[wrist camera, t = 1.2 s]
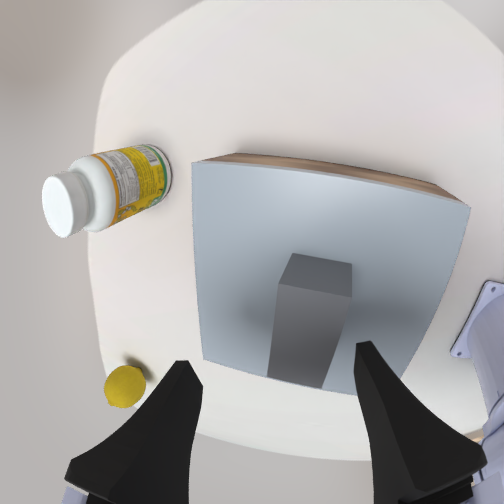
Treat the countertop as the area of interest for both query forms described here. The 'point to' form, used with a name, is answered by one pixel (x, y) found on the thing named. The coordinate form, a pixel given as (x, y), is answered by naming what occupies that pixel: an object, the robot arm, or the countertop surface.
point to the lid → (316, 269)
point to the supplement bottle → (105, 189)
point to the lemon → (125, 386)
